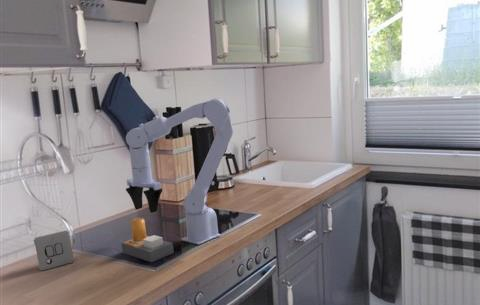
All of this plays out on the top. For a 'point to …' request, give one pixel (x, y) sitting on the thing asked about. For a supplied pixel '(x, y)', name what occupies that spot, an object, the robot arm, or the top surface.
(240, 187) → the top surface
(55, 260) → the electrical switch
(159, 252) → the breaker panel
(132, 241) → the tagged button
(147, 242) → the button
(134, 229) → the cap
